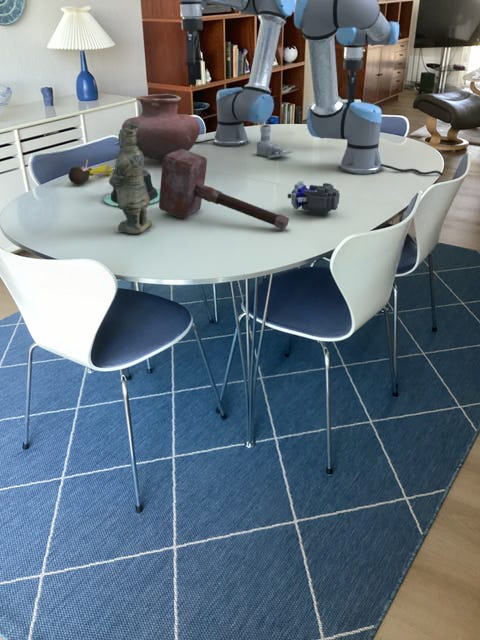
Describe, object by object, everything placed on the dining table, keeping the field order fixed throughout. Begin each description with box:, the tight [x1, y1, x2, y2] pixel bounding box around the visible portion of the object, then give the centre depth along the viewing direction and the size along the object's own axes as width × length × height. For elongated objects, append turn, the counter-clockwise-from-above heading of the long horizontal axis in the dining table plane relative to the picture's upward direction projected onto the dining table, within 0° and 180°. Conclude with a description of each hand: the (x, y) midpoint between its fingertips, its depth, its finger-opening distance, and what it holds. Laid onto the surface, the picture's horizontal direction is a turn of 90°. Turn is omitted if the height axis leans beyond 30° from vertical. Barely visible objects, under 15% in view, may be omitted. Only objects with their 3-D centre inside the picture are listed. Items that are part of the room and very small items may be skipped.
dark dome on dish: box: [103, 168, 160, 207], centre depth 186 cm, size 15×19×20 cm
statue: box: [108, 121, 153, 235], centre depth 154 cm, size 11×9×30 cm
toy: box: [287, 180, 341, 216], centre depth 168 cm, size 9×9×15 cm
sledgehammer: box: [158, 149, 290, 231], centre depth 163 cm, size 17×10×40 cm
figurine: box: [67, 158, 115, 186], centre depth 207 cm, size 13×8×25 cm
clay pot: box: [121, 93, 201, 163], centre depth 222 cm, size 30×30×25 cm
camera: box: [256, 124, 295, 159], centre depth 227 cm, size 9×12×15 cm
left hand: (195, 82), depth 209 cm, fingers open, 13 cm apart
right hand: (348, 119), depth 233 cm, fingers closed on brick, 6 cm apart
